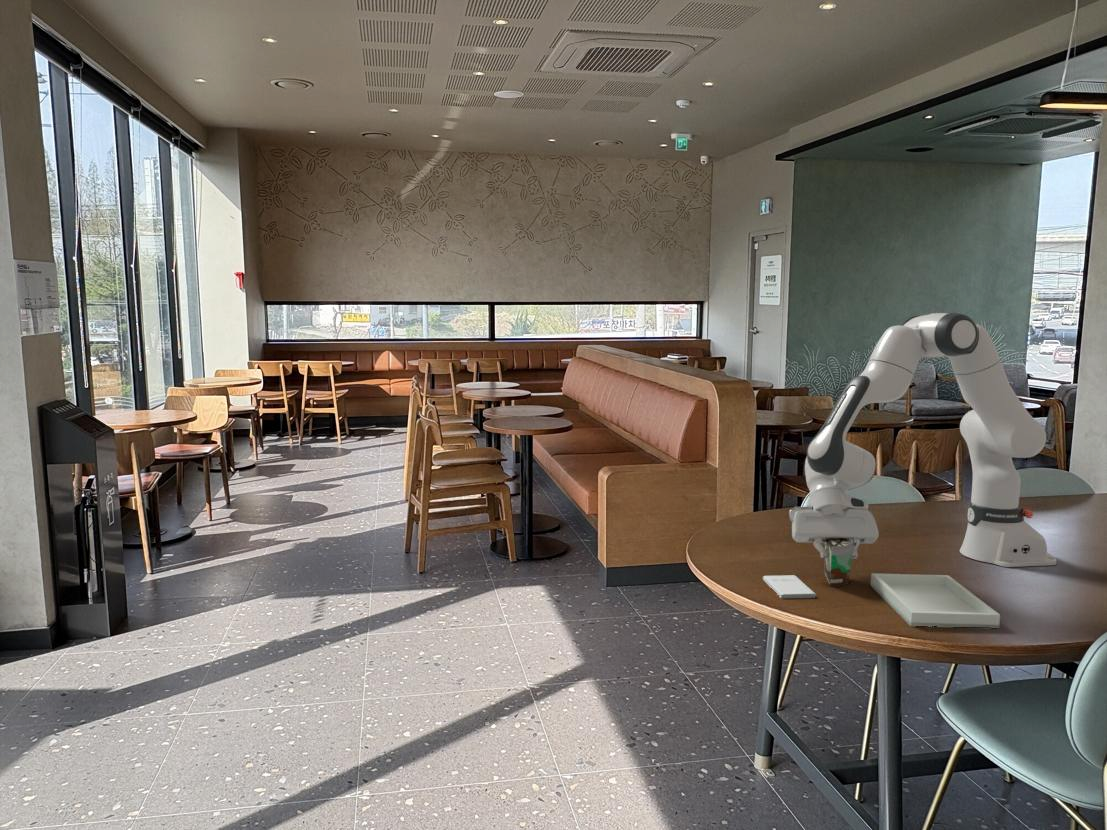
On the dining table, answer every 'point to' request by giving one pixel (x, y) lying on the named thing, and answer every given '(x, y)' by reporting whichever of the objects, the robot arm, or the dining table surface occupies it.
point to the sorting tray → (933, 601)
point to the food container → (838, 560)
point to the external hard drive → (789, 586)
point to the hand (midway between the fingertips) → (839, 557)
